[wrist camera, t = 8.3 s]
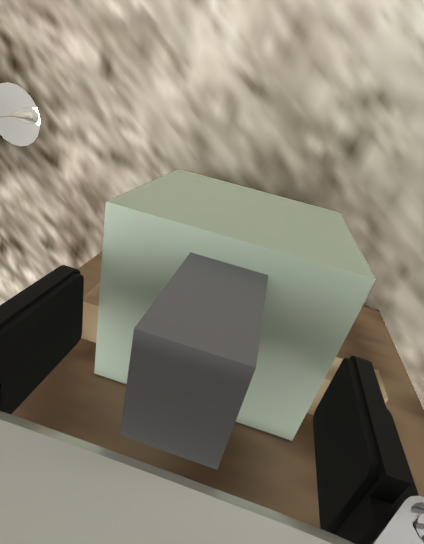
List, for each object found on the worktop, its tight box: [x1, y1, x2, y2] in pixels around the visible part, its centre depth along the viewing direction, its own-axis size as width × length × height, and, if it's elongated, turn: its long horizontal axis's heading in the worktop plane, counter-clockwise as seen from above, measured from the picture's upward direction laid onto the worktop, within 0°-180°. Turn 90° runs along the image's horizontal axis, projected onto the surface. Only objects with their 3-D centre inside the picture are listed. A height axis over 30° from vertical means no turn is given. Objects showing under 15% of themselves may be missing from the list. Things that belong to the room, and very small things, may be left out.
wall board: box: [11, 252, 424, 529], centre depth 22 cm, size 24×10×20 cm, turn 77°
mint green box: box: [94, 169, 376, 470], centre depth 15 cm, size 10×9×14 cm
